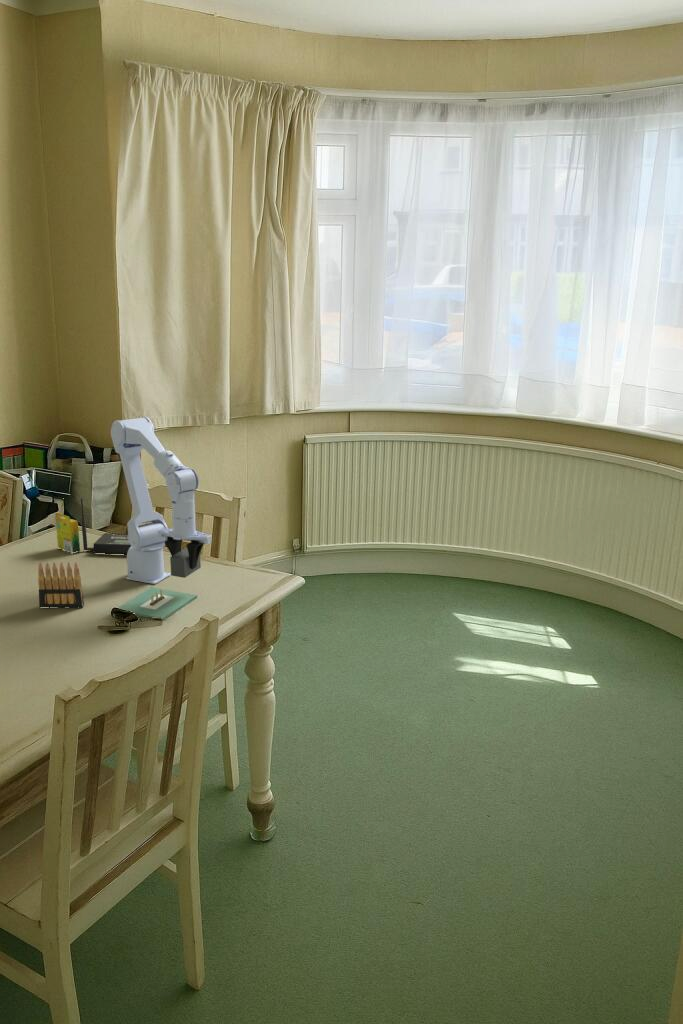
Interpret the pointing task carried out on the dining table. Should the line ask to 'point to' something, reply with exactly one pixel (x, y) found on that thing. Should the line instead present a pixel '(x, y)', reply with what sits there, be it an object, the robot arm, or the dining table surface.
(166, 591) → the header board
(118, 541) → the wifi router
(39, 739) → the dining table surface
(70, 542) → the crayon box
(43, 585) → the ammunition clip
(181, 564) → the block
